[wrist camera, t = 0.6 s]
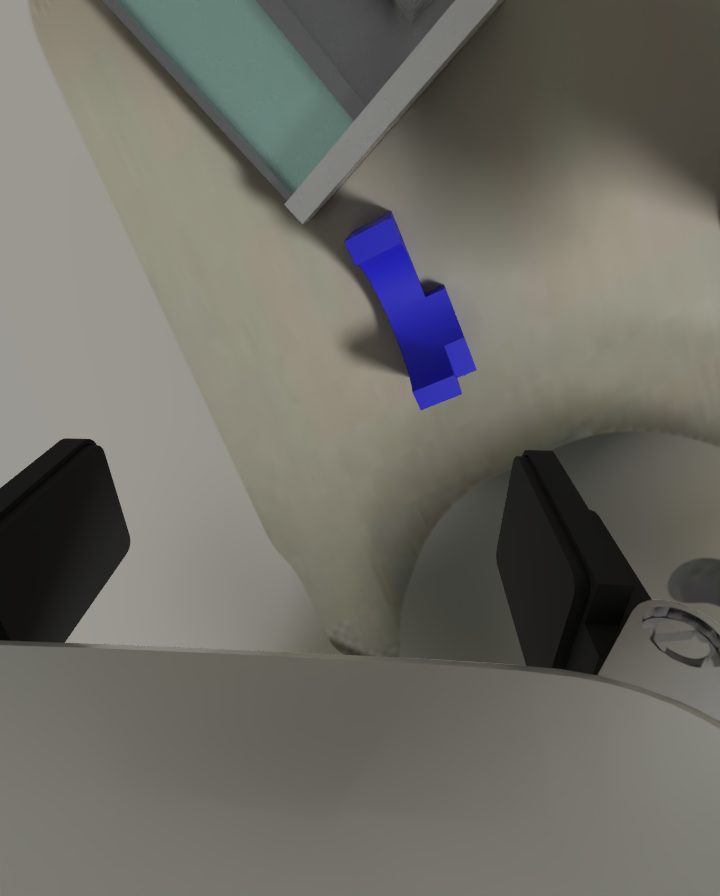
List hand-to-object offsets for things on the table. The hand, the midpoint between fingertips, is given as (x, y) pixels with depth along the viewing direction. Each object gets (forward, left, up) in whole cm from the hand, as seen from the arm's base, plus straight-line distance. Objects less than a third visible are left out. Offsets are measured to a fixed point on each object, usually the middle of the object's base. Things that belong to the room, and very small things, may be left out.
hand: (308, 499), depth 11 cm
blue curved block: (-2, +3, -28) cm, 28 cm away
